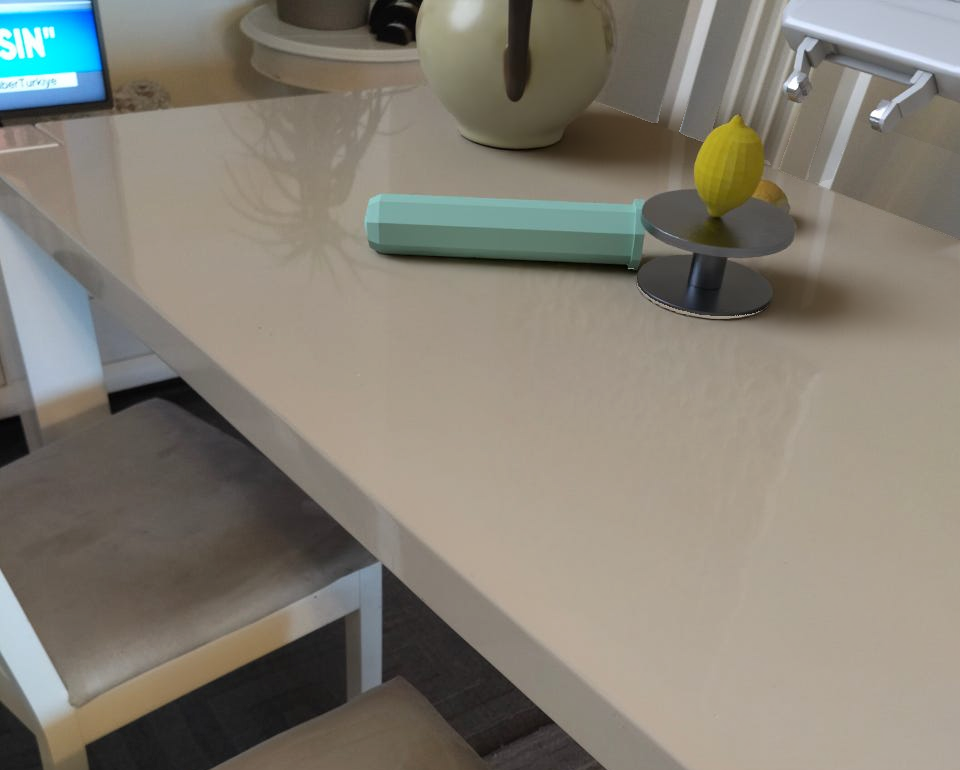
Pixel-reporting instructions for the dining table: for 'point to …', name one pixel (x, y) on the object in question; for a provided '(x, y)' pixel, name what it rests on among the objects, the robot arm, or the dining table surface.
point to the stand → (711, 253)
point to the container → (506, 228)
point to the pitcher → (516, 64)
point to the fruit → (729, 166)
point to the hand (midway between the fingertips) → (832, 111)
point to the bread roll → (772, 195)
